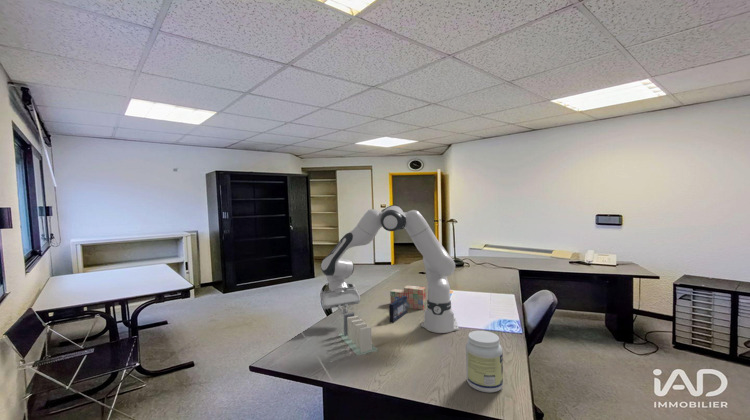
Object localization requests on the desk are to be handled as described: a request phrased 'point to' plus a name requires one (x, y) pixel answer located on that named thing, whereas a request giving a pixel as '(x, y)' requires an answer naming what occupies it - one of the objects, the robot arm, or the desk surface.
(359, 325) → the domino
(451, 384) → the desk surface
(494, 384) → the supplement tub
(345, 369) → the desk surface
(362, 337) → the domino
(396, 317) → the vhs cassette tape
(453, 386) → the desk surface
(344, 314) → the domino
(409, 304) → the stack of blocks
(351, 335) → the domino
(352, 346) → the mat
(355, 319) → the domino
